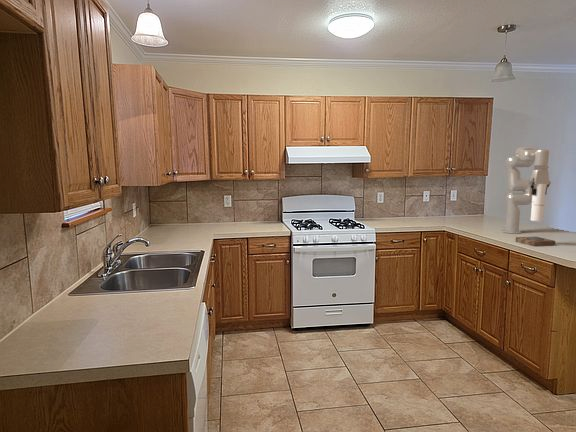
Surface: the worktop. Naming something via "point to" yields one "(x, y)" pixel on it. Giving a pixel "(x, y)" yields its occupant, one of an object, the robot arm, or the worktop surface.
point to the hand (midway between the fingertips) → (538, 194)
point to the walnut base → (535, 241)
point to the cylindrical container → (538, 203)
